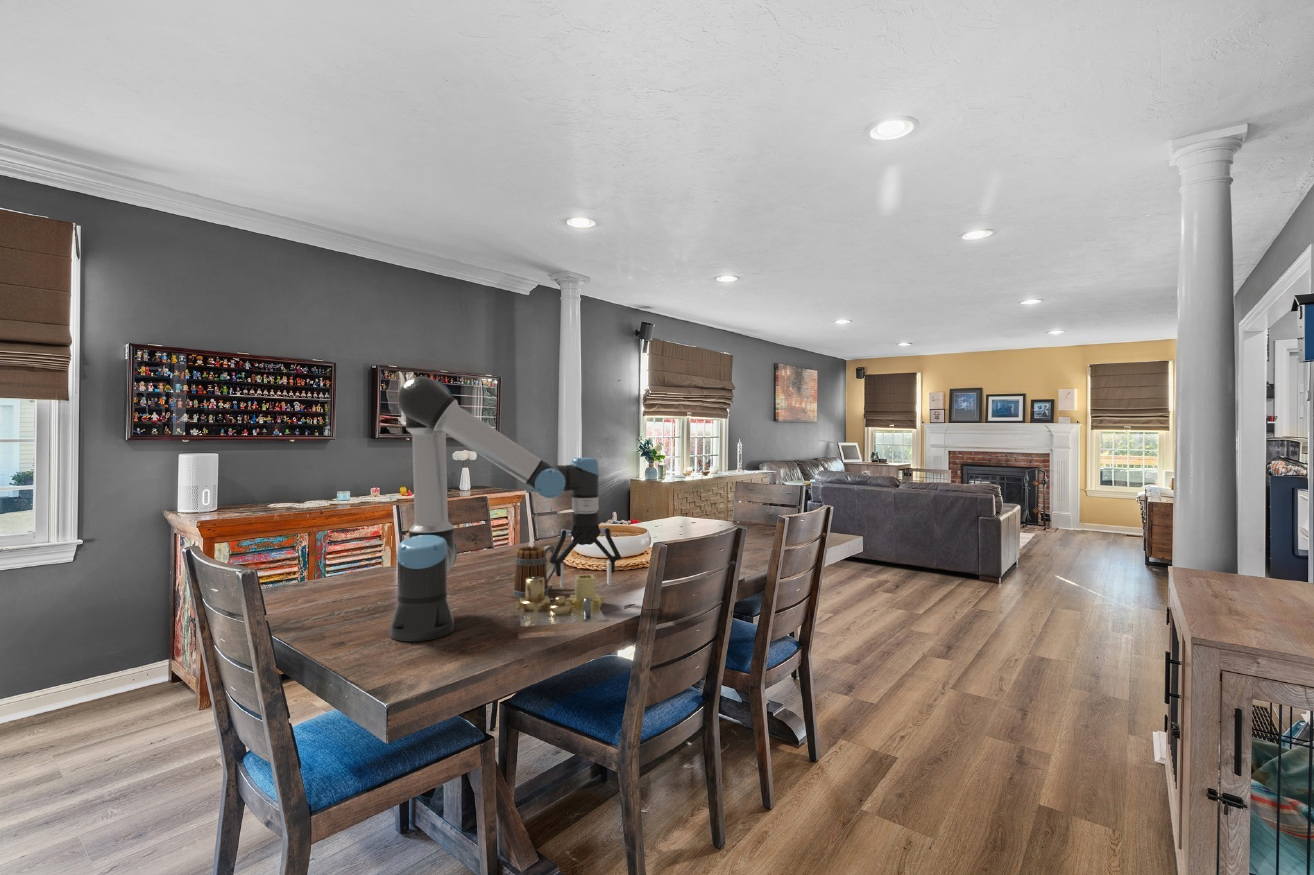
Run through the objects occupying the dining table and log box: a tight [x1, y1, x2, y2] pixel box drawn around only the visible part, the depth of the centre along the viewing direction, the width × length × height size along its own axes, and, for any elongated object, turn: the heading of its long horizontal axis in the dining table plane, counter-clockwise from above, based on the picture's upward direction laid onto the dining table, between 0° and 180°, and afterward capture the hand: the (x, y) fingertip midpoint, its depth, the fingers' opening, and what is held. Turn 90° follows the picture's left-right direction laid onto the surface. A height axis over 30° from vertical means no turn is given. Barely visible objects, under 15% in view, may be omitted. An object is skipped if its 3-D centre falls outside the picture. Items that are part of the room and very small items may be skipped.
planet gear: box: [566, 573, 604, 609], centre depth 175 cm, size 10×10×8 cm
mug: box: [512, 545, 559, 599], centre depth 188 cm, size 16×11×15 cm
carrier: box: [515, 576, 607, 627], centre depth 169 cm, size 23×22×10 cm
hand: (585, 586), depth 175 cm, fingers open, 13 cm apart
